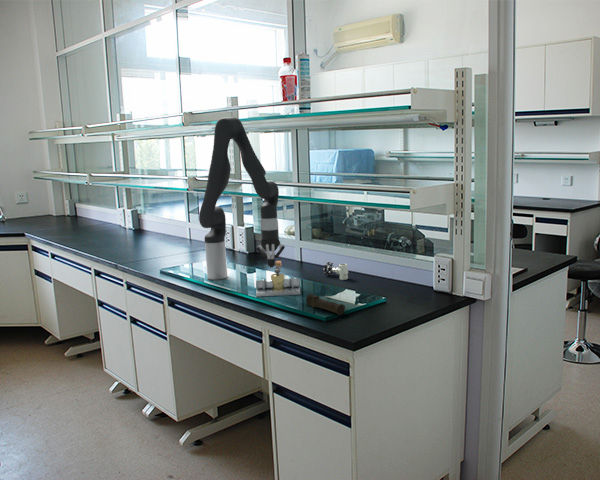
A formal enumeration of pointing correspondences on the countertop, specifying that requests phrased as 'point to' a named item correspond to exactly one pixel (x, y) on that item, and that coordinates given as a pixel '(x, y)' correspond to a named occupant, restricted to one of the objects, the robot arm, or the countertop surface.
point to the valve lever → (278, 267)
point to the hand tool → (324, 304)
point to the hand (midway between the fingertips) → (271, 267)
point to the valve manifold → (278, 286)
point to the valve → (337, 270)
